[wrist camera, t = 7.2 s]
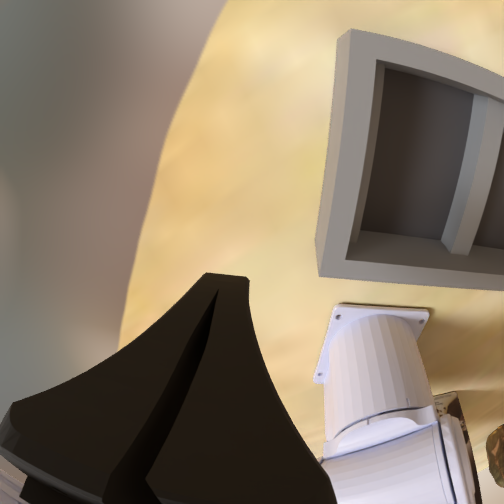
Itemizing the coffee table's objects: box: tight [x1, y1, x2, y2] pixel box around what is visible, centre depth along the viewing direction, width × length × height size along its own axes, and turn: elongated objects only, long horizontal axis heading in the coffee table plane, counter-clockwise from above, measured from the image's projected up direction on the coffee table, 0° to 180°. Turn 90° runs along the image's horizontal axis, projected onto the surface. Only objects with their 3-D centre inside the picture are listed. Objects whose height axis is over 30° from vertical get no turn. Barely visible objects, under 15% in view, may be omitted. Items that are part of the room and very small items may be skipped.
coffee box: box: [433, 392, 482, 504], centre depth 23 cm, size 9×6×16 cm
